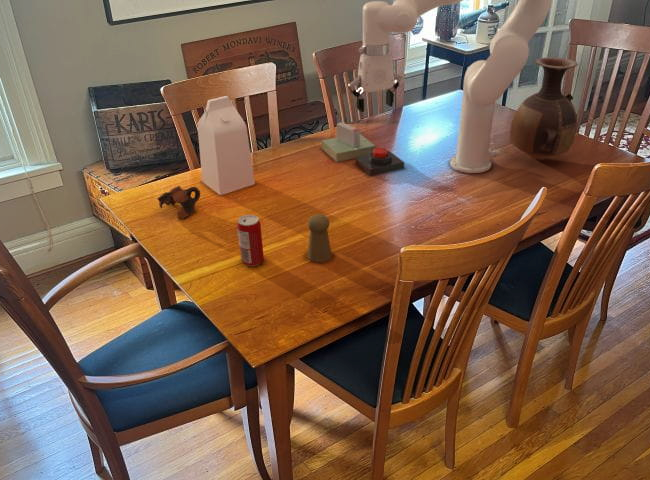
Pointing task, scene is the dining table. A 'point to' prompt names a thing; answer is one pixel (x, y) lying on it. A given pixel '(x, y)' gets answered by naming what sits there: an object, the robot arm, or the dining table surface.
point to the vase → (546, 115)
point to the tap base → (346, 149)
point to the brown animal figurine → (181, 199)
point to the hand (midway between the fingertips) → (375, 107)
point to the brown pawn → (319, 239)
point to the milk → (224, 148)
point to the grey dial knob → (348, 134)
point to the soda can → (250, 240)
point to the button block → (379, 163)
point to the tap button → (380, 152)
